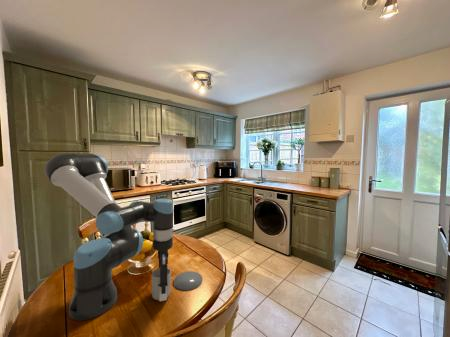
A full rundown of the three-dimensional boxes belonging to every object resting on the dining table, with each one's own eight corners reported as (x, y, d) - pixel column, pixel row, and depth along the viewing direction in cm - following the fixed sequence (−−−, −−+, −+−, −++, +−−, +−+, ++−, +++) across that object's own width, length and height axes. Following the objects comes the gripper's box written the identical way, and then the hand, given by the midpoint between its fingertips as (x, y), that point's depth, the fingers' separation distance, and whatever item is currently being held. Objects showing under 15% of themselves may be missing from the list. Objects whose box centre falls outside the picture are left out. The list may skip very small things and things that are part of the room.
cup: (148, 300, 73) (149, 277, 72) (157, 283, 83) (158, 263, 82) (167, 300, 73) (168, 278, 72) (174, 283, 83) (174, 263, 82)
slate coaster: (175, 293, 79) (175, 292, 79) (172, 275, 91) (172, 274, 91) (205, 286, 83) (205, 285, 83) (198, 270, 95) (198, 269, 95)
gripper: (175, 248, 68) (174, 309, 69) (170, 227, 88) (169, 273, 89) (153, 251, 65) (152, 314, 66) (153, 228, 86) (152, 276, 87)
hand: (162, 291), depth 78 cm, fingers closed on cup, 10 cm apart
